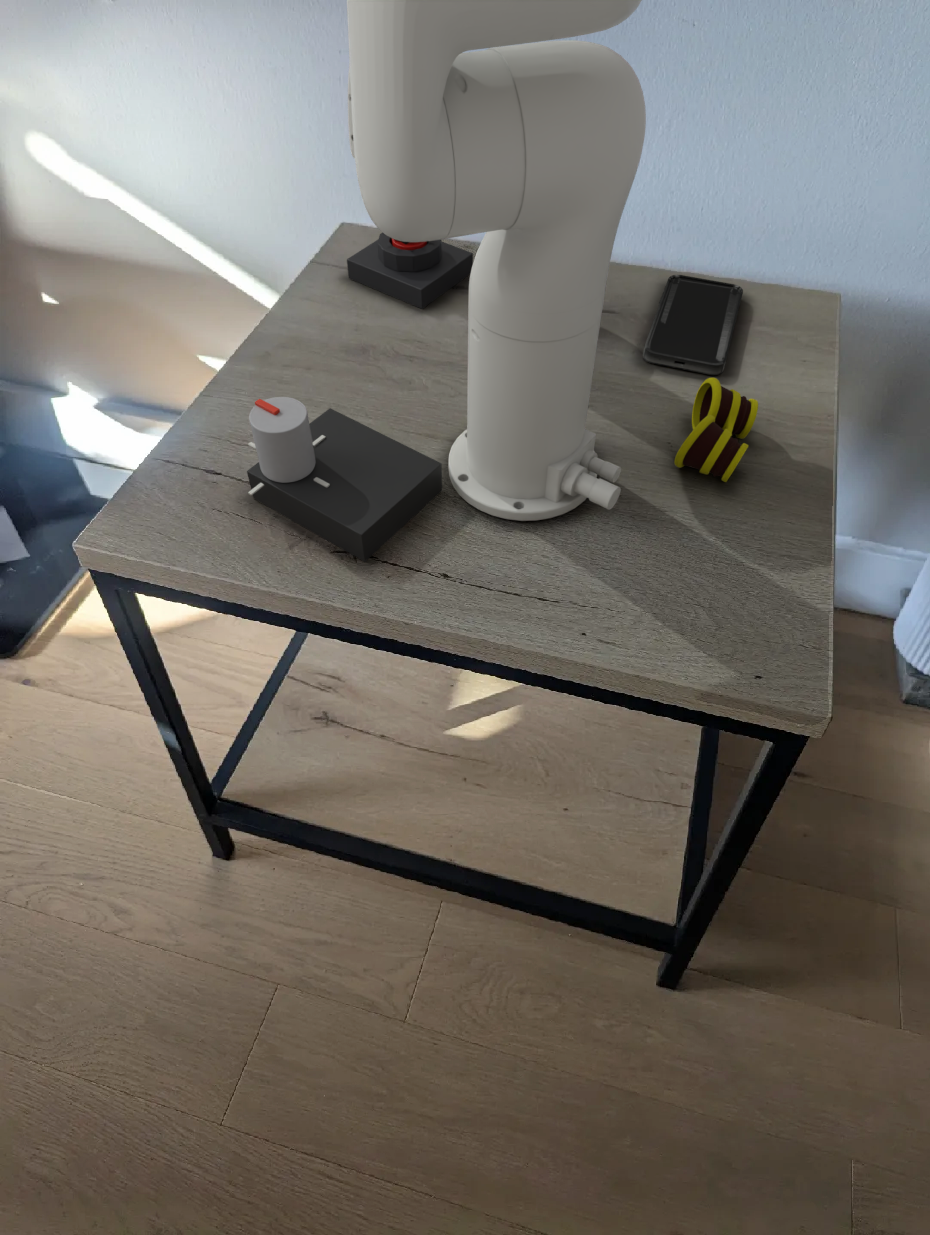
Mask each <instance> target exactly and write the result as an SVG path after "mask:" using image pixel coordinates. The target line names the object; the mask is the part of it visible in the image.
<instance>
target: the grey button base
mask: <svg viewBox="0 0 930 1235" xmlns="http://www.w3.org/2000/svg"><path fill="white" fill-rule="evenodd" d="M473 262H474V253H473V252H472V251H468V250H466V249H463V248H461V247H458V246H454V245H452V244H450V243H447V242H445V241H442V239H441V240H434V241H427V245H426V246H424V247H423V248H420V249H415V250H401V249H399V248H396V247H394V246H393V245H392V238H391V237H389V236H387V235H385V234H384V233H383V232H380V233H379V236H378V238H377V239H376V240H375V241H372V242H371V243H370V244H369V245H367V246H365V247H363V248H362V249H361V250H359V251H358V252H356V253H354V254H353V255H351V256H349V257H348V258H347V259H346V264H347V274H348V275H347V276H348V279H349V280H352V281H354V282H357V283H358V284H361V285H363V286H366V287H368V288H371V289H374V290H375V291H378V292H379V293H383V294H385V295H388V296H390V297H392V298H394V299H397V300H400V301H402V302H404V303H407V304H409V305H411V306H414V307H416V308H419V309H422V310H423V309H425V307H428V306H429V305H430V304H431V303H432V302H434V301H435V300H437V299H438V298H439V297H442V295H443V294H445V293H446V292H448V291H449V290H450V289H452V288H453V287H454V286H456V285H457V284H459V283H460V282H462V281H463V280H464V279H466V278H467V277H468V276H470V274H471V269H472V265H473Z"/></svg>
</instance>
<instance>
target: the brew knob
mask: <svg viewBox="0 0 930 1235" xmlns="http://www.w3.org/2000/svg"><path fill="white" fill-rule="evenodd" d="M248 415H249V416H248V422H249V425H250V430H251V434H252V439H253V443H254V444H255V447H256V449H255V450H256V451H255V452H256V455H257V460H258V462H259V464H260V469H261V471H262V473H263V474H264V476H266V477H267V478H268V479H270V480H272V481H275V482H281V483H289V482H295V481H298V480H301V479H303V478H305V477H306V476H308V475H309V474H310V473H311V472H312V471H313V469H314V467H315V463H316V460H315V454H314V448H313V442H312V436H311V430H310V418H309V412H308V409H307V407H306V405H305V404H304V403H303V402H302V401H300V400H298V399H296V398H293V397H291V396H273V397H270V398H266V399H261V398H258V399H257V400H256V401H254V406H253V407H252V408H251V410H250V411H249V414H248Z"/></svg>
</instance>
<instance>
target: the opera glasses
mask: <svg viewBox="0 0 930 1235" xmlns="http://www.w3.org/2000/svg"><path fill="white" fill-rule="evenodd" d="M758 410H759V402H758V400H757V399H754V398H749V399H747V397H746V396H745V395H742V396H741V393H740V392H738V391H737V390H735V389H734V388H732V389H728V388H726V387H724V386H722V385H721V382H720V380H719V379H718V378H717V377H707V378H706V379H705V380H704V381H703V382H702V383H701V384H700V386H699V388H698V390H697V392H696V394H695V397H694V402H693V405H692V412H691V426H692V427H691V428H692V431H691V432H690V433H689V435H688V436H687V437H686V438H685V439H684V441H683V442H682V444H681V445H680V447H679V449H678V451H677V452H676V455H675V458H674V466H675V467H677V468H680V469H681V468H683V467H684V466H686V467H689V468H693V469H696V470H699V474H703V475H709V474H712V476H713V477H717V476H718V477H720V480H721V481H722V482H724V483H728V480H729V479H730V477H731V475H732V474H733V473H734V471H735V469H736V468H737V466H738V465H739V463H740V462H741V459H742V458H743V456H744V454H745V453H746V451H747V450H748V448H749V444H747V443H745V442H743V443H742V444H741V443H740V442H739V439H741V440H744V439H745V438H747V436H748V435H749V433H750V432H751V430H752V428H753V427H754V424H755V421H756V419H757V416H758V412H759V411H758ZM734 435H735V438H734V437H732V436H734Z"/></svg>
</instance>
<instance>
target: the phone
mask: <svg viewBox="0 0 930 1235" xmlns="http://www.w3.org/2000/svg"><path fill="white" fill-rule="evenodd" d="M743 294H744V289H743V288H742V287H741V286H740V285H738V284H734V283H729V282H724V281H717V280H712V279H708V278H707V279H706V278H700V277H695V276H690V275H685V274H673V275H670V276H669V277H668V279H667V281H666V284H665V286H664V288H663V291H662V294H661V297H660V299H659V302H658V307H657V310H656V312H655V315H654V317H653V321H652V324H651V326H650V329H649V332H648V335H647V338H646V340H645V344H644V347H643V352H642V358H643V360H644V361H645V362H647V363H649V364H653V365H657V366H661V367H667V368H673V369H678V370H682V371H688V372H694V373H699V374H703V375H708V376H718V375H721V374H722V373H723V372H724V370H725V366H726V364H727V359H728V354H729V350H730V347H731V346H730V345H731V342H732V338H733V334H734V331H735V326H736V322H737V319H738V314H739V311H740V307H741V303H742V298H743Z"/></svg>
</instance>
